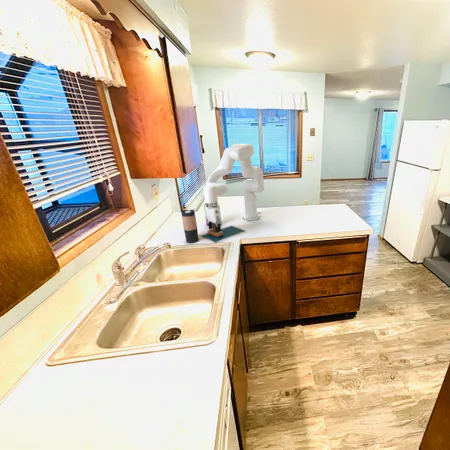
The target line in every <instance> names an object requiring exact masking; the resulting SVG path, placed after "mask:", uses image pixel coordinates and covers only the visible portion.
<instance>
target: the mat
mask: <svg viewBox="0 0 450 450" xmlns="http://www.w3.org/2000/svg"><path fill="white" fill-rule="evenodd" d="M221 231H222V232H223V237H221V238H219V239H218V238H215V237H211V236H208V233H205V234H203V235H201V236H202V237H203V238H205V239H207V240H210V241H211V242H214V243H218V242H219V241H220V242H221V241H222V240H224V239H228V238H230V237H233V236H236V235H238V234H241V233H244V232H245V231H246V230H244V229H242V228H239V227H236V226H234V225H230V226H227V227H224V228H221Z"/></svg>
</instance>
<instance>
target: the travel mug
mask: <svg viewBox="0 0 450 450" xmlns="http://www.w3.org/2000/svg"><path fill="white" fill-rule="evenodd" d="M180 213H181V220H182V225H183V226H182V227H183V231H184V236H185V237H184V238H185V241H186V243H188V244H194V243H197V242H198V241H199V233H198V232H199V231H198V225H197V219H196V211H195V209H190V210H189V209H183V210H181V211H180Z"/></svg>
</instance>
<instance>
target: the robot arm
mask: <svg viewBox="0 0 450 450" xmlns="http://www.w3.org/2000/svg"><path fill="white" fill-rule="evenodd" d="M254 153H255V148H254V146H253V144H250V143H233V144H231V145H230V147H226V148H225V149H224V151H223V153H222V156H221V159H220V162H219V164H218V166H217V168H215V169H214V170H213V171H212V172H211V173H210V174H209V176H208V177H207V180H206V183H205V185H204V186H203V196H204V204H205V205H206V217H205V220H206V219H207V221H208V225H207V226H208V229H209V230H211V229H212V222H213V223H215V224H216V232H217V233H218V232H221V229H222V227H221V226H222V223H223V221H222V215H221V209H220V210H219V207H220V206H219V207H218V205H219V201H218V200H219V199H218V196H225V195H226V194H227V193H228V191H229V188H228V187H229V186H227V185H226V184H225V183H223V182H218V180H219V179H221V178H222V177H225V176H226V175H229V174H231V173H232V170H233V167H234V165H235V162H239V164H240V170H241V175H242V178H244V180H243V181H242V183H241V188H242V192H243V200H244V216H243V219H244V220H246V221H254V220H258V219H260V214H262V211H261V210H260V211H258V206H257V204H258V203H257V195H256V193H258V194H259V193H260V194H261V193H263V192H264V190H265V182H264V173H263V170H262V168H261V167H260V166H255V165H253V162H252V158H251V157H252V156H254ZM216 221H218V222H216ZM217 223H218V225H217Z"/></svg>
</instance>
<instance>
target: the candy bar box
mask: <svg viewBox="0 0 450 450" xmlns="http://www.w3.org/2000/svg"><path fill="white" fill-rule="evenodd" d="M218 207H219V210H220V211H221V209H220V204H218ZM203 208H204V209H203V210H204V216H205V223H206V224H205V225H206V226H208V221H207V219H206V205H205V203H204V204H203ZM216 222H218V221H216ZM212 223H213V222H212ZM217 225H218V223H217Z"/></svg>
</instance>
